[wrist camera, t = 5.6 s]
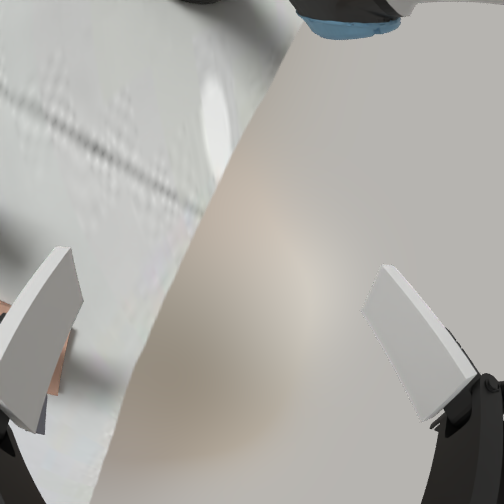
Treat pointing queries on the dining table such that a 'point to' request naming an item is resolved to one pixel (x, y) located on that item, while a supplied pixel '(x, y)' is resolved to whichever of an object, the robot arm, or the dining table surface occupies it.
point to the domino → (42, 419)
